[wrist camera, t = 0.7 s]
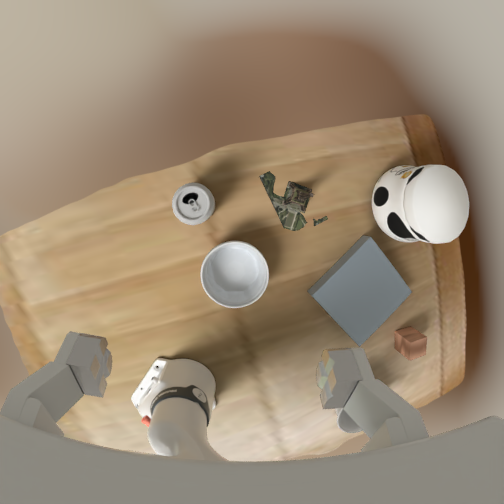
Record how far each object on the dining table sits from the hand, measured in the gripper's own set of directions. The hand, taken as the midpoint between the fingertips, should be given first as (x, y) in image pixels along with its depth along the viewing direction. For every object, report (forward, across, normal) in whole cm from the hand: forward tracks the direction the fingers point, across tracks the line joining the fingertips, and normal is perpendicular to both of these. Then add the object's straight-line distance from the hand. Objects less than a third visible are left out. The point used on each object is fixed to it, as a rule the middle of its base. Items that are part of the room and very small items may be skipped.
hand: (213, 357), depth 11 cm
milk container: (+56, +40, -13) cm, 70 cm away
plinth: (+47, +32, -32) cm, 65 cm away
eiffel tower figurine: (+56, +14, -14) cm, 59 cm away
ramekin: (+49, +2, -29) cm, 57 cm away
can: (+54, -6, -17) cm, 57 cm away
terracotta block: (+43, +47, -44) cm, 77 cm away
